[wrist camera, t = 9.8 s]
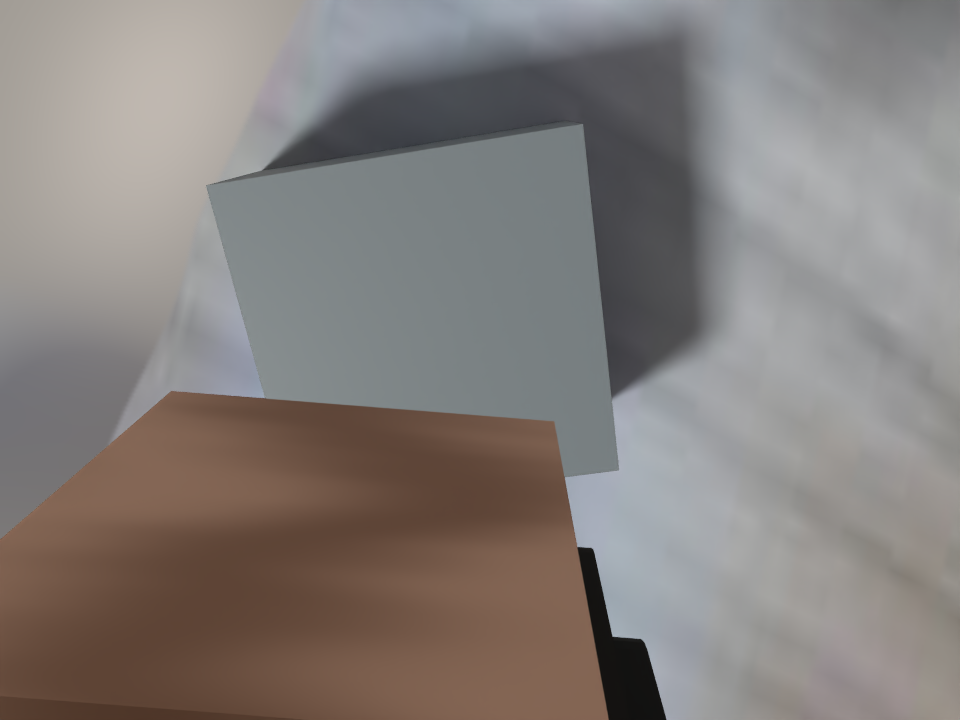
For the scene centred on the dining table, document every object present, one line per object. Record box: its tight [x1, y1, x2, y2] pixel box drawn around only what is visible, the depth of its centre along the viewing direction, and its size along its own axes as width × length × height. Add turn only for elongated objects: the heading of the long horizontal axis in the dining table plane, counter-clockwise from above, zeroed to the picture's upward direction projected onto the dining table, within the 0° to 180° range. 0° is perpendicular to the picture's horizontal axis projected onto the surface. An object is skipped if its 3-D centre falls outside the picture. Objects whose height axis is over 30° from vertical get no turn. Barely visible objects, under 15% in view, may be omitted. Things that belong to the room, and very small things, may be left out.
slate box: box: [206, 121, 619, 477], centre depth 27 cm, size 12×12×6 cm
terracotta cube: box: [0, 391, 609, 720], centre depth 9 cm, size 6×6×6 cm
